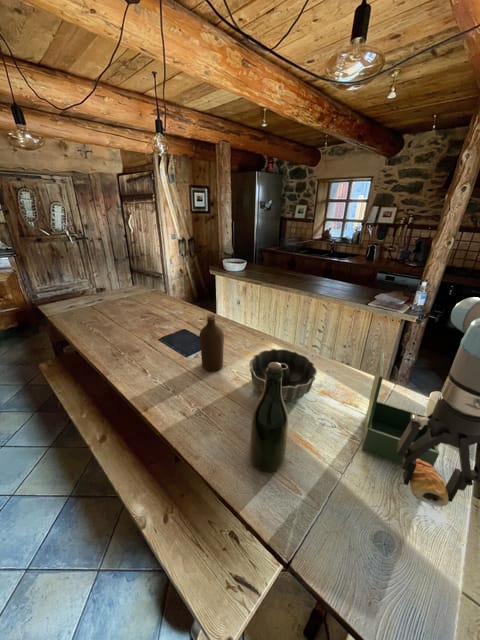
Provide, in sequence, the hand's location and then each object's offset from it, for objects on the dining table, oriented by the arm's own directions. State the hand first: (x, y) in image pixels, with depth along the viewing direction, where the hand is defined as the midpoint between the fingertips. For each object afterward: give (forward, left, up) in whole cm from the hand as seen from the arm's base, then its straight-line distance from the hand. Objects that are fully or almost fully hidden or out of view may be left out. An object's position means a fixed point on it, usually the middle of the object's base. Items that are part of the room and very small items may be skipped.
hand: (426, 486), depth 56 cm
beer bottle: (+36, -2, -16) cm, 39 cm away
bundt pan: (+43, -35, -16) cm, 58 cm away
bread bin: (+2, -25, -15) cm, 30 cm away
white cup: (-11, -42, -16) cm, 46 cm away
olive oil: (+75, -34, -16) cm, 84 cm away
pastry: (0, 0, -1) cm, 1 cm away
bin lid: (+11, -25, +3) cm, 28 cm away
